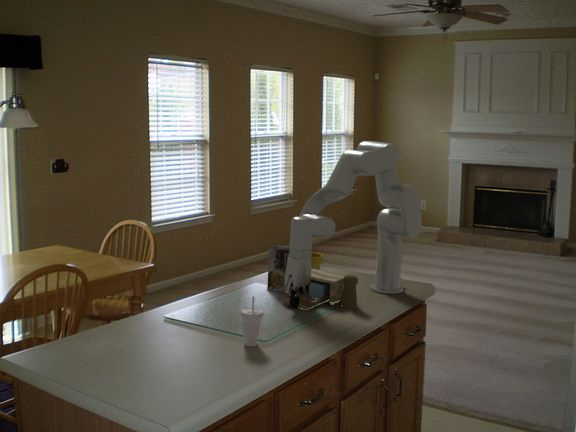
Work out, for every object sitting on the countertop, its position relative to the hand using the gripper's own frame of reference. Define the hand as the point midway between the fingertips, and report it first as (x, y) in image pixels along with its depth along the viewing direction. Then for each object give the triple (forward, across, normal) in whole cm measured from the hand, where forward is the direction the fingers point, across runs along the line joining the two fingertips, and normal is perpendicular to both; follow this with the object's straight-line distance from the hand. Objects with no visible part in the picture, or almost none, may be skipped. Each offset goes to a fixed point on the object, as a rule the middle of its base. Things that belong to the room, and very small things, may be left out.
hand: (297, 305), depth 224 cm
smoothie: (+1, +40, +10) cm, 41 cm away
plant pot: (+1, -37, -18) cm, 41 cm away
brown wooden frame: (0, -9, 0) cm, 9 cm away
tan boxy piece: (0, -16, 0) cm, 16 cm away
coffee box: (+1, -14, -16) cm, 22 cm away
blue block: (+1, -15, 0) cm, 15 cm away
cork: (+1, -14, +12) cm, 19 cm away
